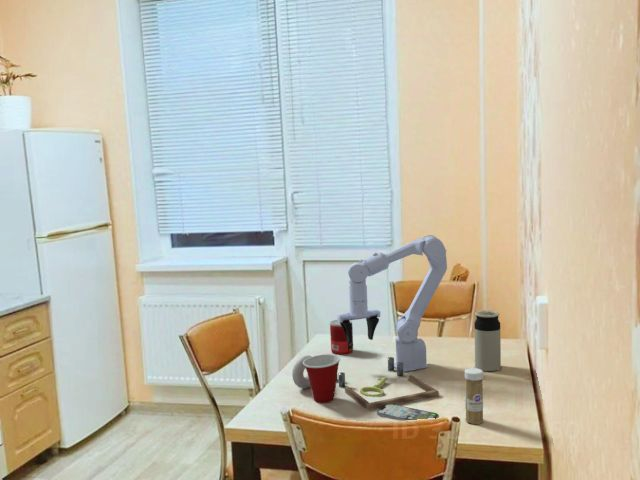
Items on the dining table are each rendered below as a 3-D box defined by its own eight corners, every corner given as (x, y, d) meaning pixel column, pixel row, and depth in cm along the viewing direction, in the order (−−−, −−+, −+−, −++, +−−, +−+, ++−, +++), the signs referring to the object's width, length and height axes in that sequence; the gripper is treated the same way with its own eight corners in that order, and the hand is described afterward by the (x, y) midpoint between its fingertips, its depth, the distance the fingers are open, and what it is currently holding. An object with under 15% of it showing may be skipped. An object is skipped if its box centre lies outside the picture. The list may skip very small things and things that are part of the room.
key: (387, 383, 187) (387, 376, 187) (383, 398, 175) (383, 391, 175) (364, 382, 189) (364, 375, 188) (358, 397, 177) (358, 390, 176)
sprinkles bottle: (472, 426, 153) (472, 374, 152) (461, 419, 157) (460, 369, 156) (487, 422, 155) (486, 371, 153) (476, 416, 159) (475, 366, 158)
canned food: (353, 354, 216) (352, 324, 215) (331, 355, 216) (329, 325, 215) (352, 348, 223) (351, 318, 222) (331, 349, 224) (329, 319, 222)
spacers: (392, 368, 199) (392, 356, 199) (404, 376, 192) (404, 363, 191) (330, 379, 191) (329, 367, 191) (340, 387, 184) (339, 375, 183)
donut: (298, 393, 180) (296, 361, 179) (290, 391, 183) (288, 358, 182) (322, 384, 187) (320, 352, 186) (314, 382, 190) (313, 350, 189)
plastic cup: (305, 392, 181) (303, 353, 180) (341, 391, 181) (340, 352, 179) (303, 407, 170) (301, 365, 169) (342, 406, 170) (340, 364, 168)
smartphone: (429, 424, 155) (375, 412, 162) (429, 428, 155) (375, 416, 162) (439, 413, 161) (387, 403, 169) (439, 417, 161) (387, 406, 169)
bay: (411, 379, 188) (411, 375, 188) (438, 396, 174) (438, 391, 174) (345, 392, 180) (344, 387, 180) (367, 410, 166) (367, 405, 166)
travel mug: (491, 373, 190) (490, 317, 188) (470, 368, 196) (469, 313, 194) (505, 367, 195) (505, 312, 193) (484, 362, 201) (483, 309, 199)
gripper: (373, 295, 204) (374, 334, 206) (333, 300, 199) (334, 340, 200) (382, 299, 198) (384, 339, 199) (341, 304, 192) (343, 346, 194)
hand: (359, 340), depth 199 cm, fingers open, 7 cm apart
